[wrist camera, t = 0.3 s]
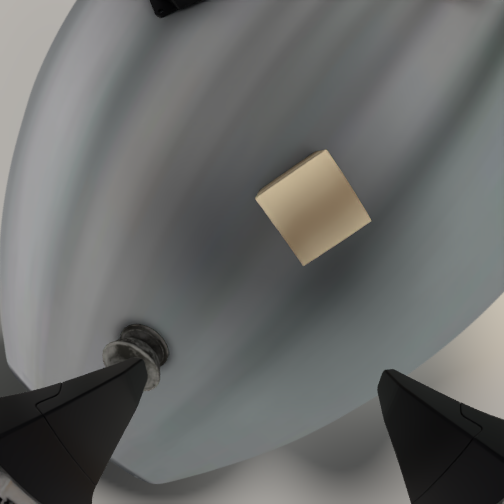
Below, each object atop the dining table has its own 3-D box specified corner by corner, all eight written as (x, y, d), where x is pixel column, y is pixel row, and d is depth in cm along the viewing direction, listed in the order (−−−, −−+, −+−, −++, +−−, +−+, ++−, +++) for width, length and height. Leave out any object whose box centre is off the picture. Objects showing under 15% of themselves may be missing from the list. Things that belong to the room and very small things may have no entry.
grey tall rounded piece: (140, 374, 28) (93, 457, 17) (108, 331, 27) (44, 408, 15) (182, 361, 27) (141, 458, 16) (149, 313, 26) (84, 402, 14)
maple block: (259, 189, 22) (254, 198, 17) (315, 151, 20) (326, 149, 16) (298, 243, 23) (303, 266, 18) (351, 207, 21) (371, 221, 17)
